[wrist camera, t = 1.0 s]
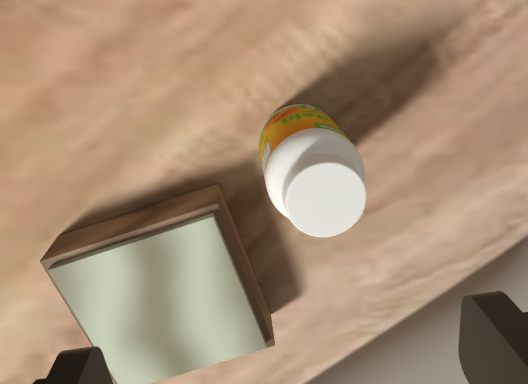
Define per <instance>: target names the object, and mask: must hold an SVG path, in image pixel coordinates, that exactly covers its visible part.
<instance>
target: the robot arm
mask: <svg viewBox="0 0 528 384" xmlns="http://www.w3.org/2000/svg"><path fill="white" fill-rule="evenodd" d="M459 359H460V363H461V366H462V370H463V372H464V375H465V377H466V379H467V380H468V382H469V384H528V312H524V313H523V312H522V311H521V310H520V309H519V308H518V307H517V306H516V305H515V304H514V303H513V301H512V300H511V299H510V298H509V297H508V296H507V295H506V294H504V293H503V292H501V291H496V292H488V293H482V294H474V295H467V296H465V297H464V298H463V300H462V305H461V319H460V335H459ZM33 384H113V381H112V378H111V376H110V373H109V370H108V367H107V364H106V361H105V358H104V355H103V353H102V350H101V349H100V348H99V347H98V346H94V347H87V348H80V349H73V350H65V351H62V352H60V353H59V354H58V356H57V358H56V360H55V362H54V364H53V366H52V368H51V370H50V372H49V374H48V376H47V378H45V379H38V380H36V381H35V382H34V383H33Z"/></svg>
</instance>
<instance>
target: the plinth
mask: <svg viewBox="0 0 528 384" xmlns="http://www.w3.org/2000/svg"><path fill="white" fill-rule="evenodd" d="M40 262H41V264H42V266H43V267H44V269H45V271H46V272H47V274H48V275H49V277H50V279H51V280H52V282H53V283H54V285H55V287H56V288H57V290H58V292H59V293H60V295H61V296H62V298H63V300H64V301H65V303H66V304H67V306H68V308H69V309H70V311H71V313H72V314H73V316H74V317H75V319H76V321H77V322H78V324H79V325H80V327H81V329H82V330H83V332H84V333H85V335H86V337H87V338H88V340H89V342H90V343H91V345H92V346H93V347H94V346H98V347H99V348H100V349H101V350H102V353H103V355H104V358H105V361H106V364H107V367H108V370H109V373H110V375H111V377H112V379H113V380H114V382H115V384H150V383H154V382H157V381H160V380H164V379H167V378H170V377H173V376H177V375H180V374H183V373H187V372H190V371H193V370H196V369H200V368H203V367H206V366H210V365H213V364H216V363H219V362H223V361H226V360H229V359H233V358H236V357H239V356H242V355H246V354H249V353H252V352H256V351H259V350H262V349H265V348H267V347H271V346H274V345H275V342H274V334H273V327H272V320H271V314H270V312H269V309H268V307H267V304H266V301H265V299H264V296H263V294H262V291H261V289H260V286H259V284H258V281H257V279H256V276H255V273H254V271H253V268H252V266H251V263H250V261H249V258H248V256H247V253H246V251H245V248H244V245H243V243H242V240H241V238H240V235H239V233H238V230H237V228H236V225H235V223H234V220H233V218H232V215H231V212H230V210H229V207H228V205H227V202H226V200H225V197H224V195H223V192H222V190H221V187H220V184H219V183H217V184H214V185H211V186H208V187H205V188H202V189H199V190H196V191H193V192H190V193H187V194H184V195H181V196H178V197H175V198H172V199H169V200H166V201H163V202H160V203H157V204H153V205H150V206H147V207H144V208H141V209H138V210H135V211H132V212H129V213H126V214H123V215H120V216H117V217H114V218H111V219H108V220H105V221H102V222H99V223H96V224H92V225H89V226H86V227H83V228H80V229H77V230H74V231H71V232H68V233H65V234H62V235H59V236H58V237H57V238H56V240H55V241H54V242H53V244H52V245H51V246H50V248H49V249H48V251H47V252H46V253H45V255H44V256H43V258H42V259H41V260H40Z"/></svg>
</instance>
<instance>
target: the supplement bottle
mask: <svg viewBox="0 0 528 384" xmlns="http://www.w3.org/2000/svg"><path fill="white" fill-rule="evenodd" d="M259 154H260V159H261V164H262V169H263V173H264V178H265V184H266V188H267V191H268V194H269V197H270V199H271V201H272V203H273V204H274V206H275V207H276V208H277V209H278V210H279V211H280V212H281V213H282V214H283V215H284V216H286V217H287V218H289V219H290V221H291V222H292V223H293V224H294V226H295V227H297V228H298V229H299V230H300V231H302V232H304V233H306V234H308V235H312V236H316V237H330V236H334V235H337V234H340V233H342V232H344V231H346V230H348V229H349V228H350V227H352V226H353V225H354V224H355V223H356V222H357V221H358V219H359V218H360V217H361V215H362V213H363V211H364V208H365V205H366V199H367V194H366V187H365V184H364V180H365V171H364V165H363V162H362V158H361V156H360V154H359V152H358V150H357V149H356V147H355V146H354V145H353V144H352V142H351V141H350V140H349V139H348V138H347V137H346V136H345V135H344V133H343V132H342V131H341V130H340V129H339V128H338V126H337V125H336V124H335V123H334V122H333V120H332V119H331V118H330V117H329V116H328V115H327V114H326V113H325V112H323V111H322V110H320V109H318V108H316V107H314V106H311V105H305V104H295V105H290V106H287V107H284V108H282V109H280V110H278V111H277V112H275V113H274V114H273V115H272V116H271V117H270V118H269V119H268V120H267V121H266V123H265V125H264V126H263V128H262V131H261V134H260V138H259Z"/></svg>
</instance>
